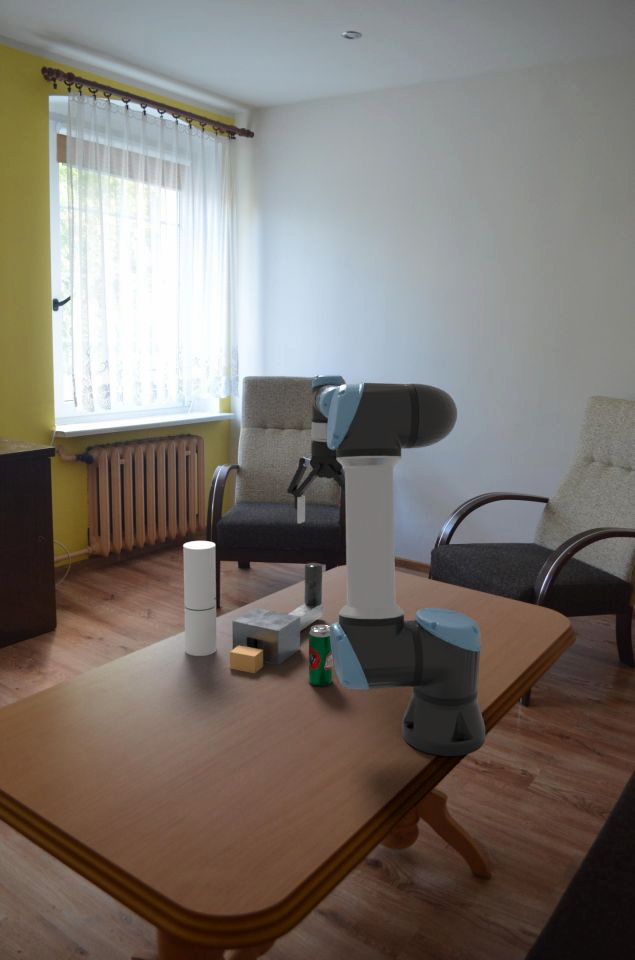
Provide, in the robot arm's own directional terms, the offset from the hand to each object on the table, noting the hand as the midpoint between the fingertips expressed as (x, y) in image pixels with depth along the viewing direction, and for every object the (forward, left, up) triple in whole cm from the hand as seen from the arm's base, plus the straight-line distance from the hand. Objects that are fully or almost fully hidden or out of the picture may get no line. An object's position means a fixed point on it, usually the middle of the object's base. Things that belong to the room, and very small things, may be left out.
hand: (325, 525), depth 196 cm
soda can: (-30, -14, -26) cm, 42 cm away
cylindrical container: (-28, +18, -26) cm, 42 cm away
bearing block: (-22, +4, -26) cm, 34 cm away
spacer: (-29, +3, -24) cm, 38 cm away
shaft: (-10, +4, -25) cm, 27 cm away
